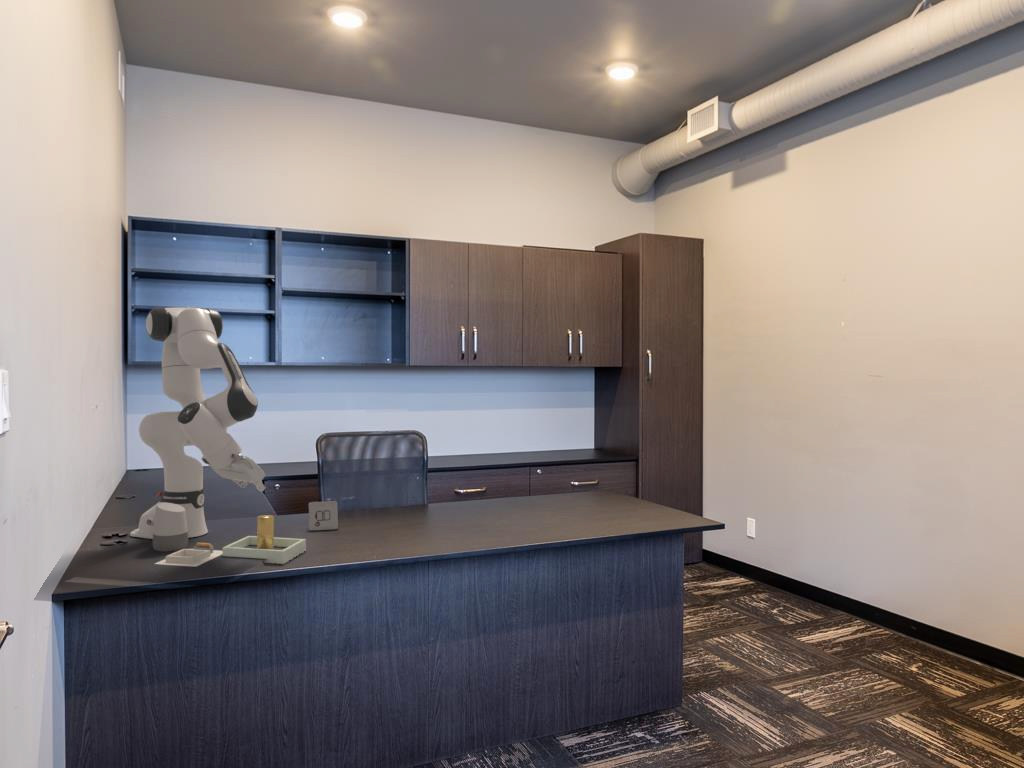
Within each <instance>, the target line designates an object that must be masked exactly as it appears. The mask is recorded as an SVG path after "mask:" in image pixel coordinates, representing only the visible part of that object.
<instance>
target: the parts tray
mask: <svg viewBox="0 0 1024 768" xmlns="http://www.w3.org/2000/svg"><path fill="white" fill-rule="evenodd" d="M248 546H257V535H247V536H245V537H242V538H241V539H238V540H236V541H234V542H232V543H229V544H227V545H225V546H223V547H222V551H223V553H222V555H221V556H222V557H233V558H250V559H263V560H262V561H261V562H263V563H264V564H275V563H276V564H277V565H279V564H280V565H284V564H286V563H288V562H290V561H292V560H293V559H294V557H295V558H296V556H297V557H298V556H300V555H302V554H303V553H305V552H307V547H306V546H307V539H305V538H290V537H274V538H273V547H279V548H280V547H282V548H283V547H284V548H283V549H273V550H271V549H257V548H253V547H251V548H250V547H248ZM304 551H305V552H304ZM301 553H302V554H301ZM299 554H300V555H299ZM289 560H290V561H289ZM263 563H262V564H263ZM276 564H275V565H276Z"/></svg>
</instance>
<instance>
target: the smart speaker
mask: <svg viewBox="0 0 1024 768" xmlns="http://www.w3.org/2000/svg"><path fill="white" fill-rule="evenodd" d="M157 503H158V502H157ZM157 503H156V504H157ZM156 504H155V505H156ZM188 543H189V538H188V528H187V520H186V512H185V508H184V507H182V506H180V505H177V504H173V503H167V502H161V503H158V504H157V505H156V512H155V521H154V529H153V539H152V547H153V551H157V552H162V553H163V552H164V553H165V552H177V551H179V550H182V549H187V547H188Z"/></svg>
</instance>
